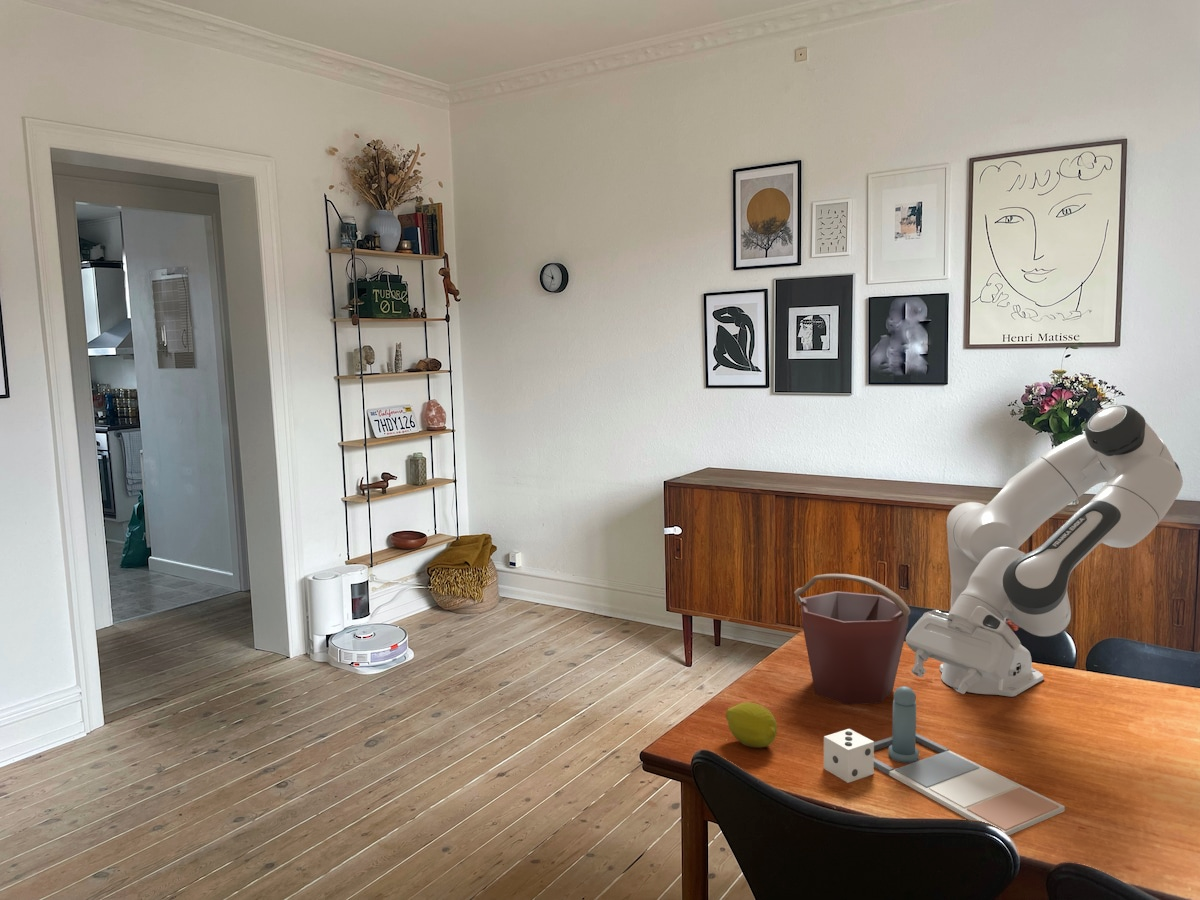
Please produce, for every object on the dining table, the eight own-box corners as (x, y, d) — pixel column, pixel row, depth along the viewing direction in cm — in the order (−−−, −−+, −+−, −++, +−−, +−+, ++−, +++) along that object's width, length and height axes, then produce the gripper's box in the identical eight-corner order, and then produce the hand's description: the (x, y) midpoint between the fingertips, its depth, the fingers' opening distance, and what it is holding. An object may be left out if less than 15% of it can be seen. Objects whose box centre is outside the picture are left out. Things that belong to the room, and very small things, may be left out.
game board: (910, 735, 167) (910, 730, 167) (1064, 811, 139) (1064, 805, 139) (852, 754, 160) (852, 749, 160) (1002, 838, 132) (1002, 832, 132)
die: (848, 760, 158) (849, 727, 157) (874, 774, 152) (874, 741, 152) (823, 768, 155) (823, 735, 154) (847, 783, 150) (848, 749, 149)
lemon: (787, 749, 162) (787, 708, 161) (756, 761, 158) (756, 719, 157) (748, 728, 172) (747, 690, 171) (717, 739, 167) (717, 699, 166)
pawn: (902, 747, 162) (904, 679, 160) (925, 758, 158) (926, 688, 156) (882, 753, 160) (883, 685, 158) (904, 765, 155) (905, 695, 153)
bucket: (774, 685, 192) (774, 575, 189) (834, 660, 206) (834, 557, 203) (872, 720, 174) (874, 599, 170) (930, 690, 188) (932, 577, 184)
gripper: (920, 598, 171) (884, 656, 168) (1013, 626, 153) (975, 691, 150) (935, 616, 174) (900, 673, 170) (1029, 645, 156) (992, 710, 153)
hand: (936, 682), depth 160 cm, fingers open, 8 cm apart
